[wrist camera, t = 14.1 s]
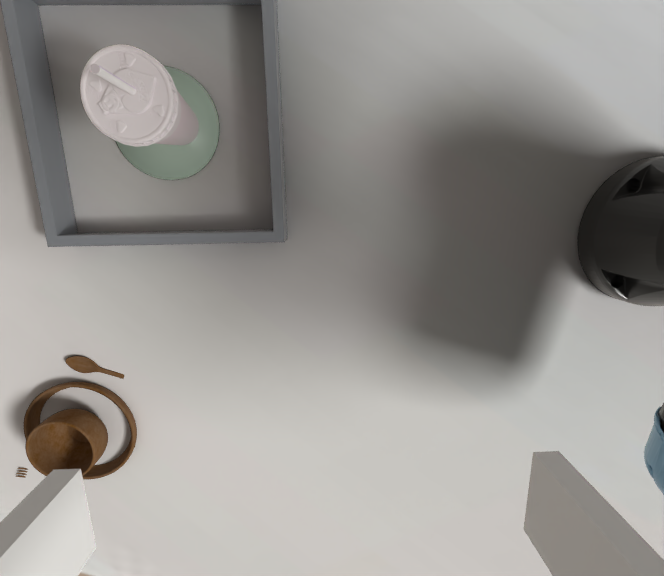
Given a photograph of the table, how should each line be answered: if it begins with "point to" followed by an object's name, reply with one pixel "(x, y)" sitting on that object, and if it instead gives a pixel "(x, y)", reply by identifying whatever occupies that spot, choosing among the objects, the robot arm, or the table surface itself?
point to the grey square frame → (151, 160)
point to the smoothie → (135, 99)
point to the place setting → (73, 430)
